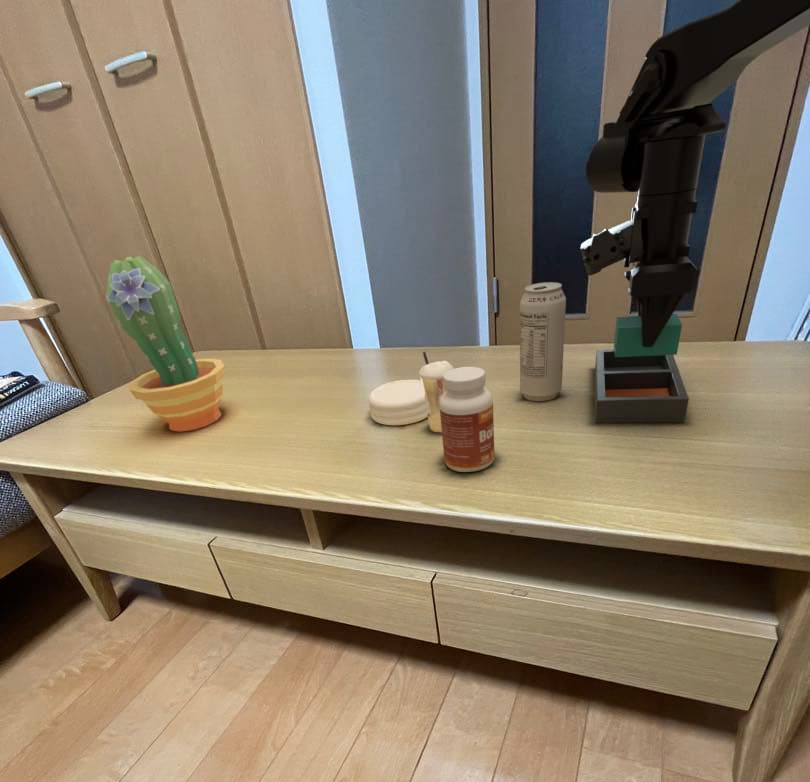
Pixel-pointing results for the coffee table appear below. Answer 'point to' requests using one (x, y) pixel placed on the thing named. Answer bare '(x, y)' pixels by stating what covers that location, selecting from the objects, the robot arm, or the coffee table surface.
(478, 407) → the pill bottle
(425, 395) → the milkshake
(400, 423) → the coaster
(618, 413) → the pad holder
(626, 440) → the coffee table surface
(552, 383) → the energy drink can
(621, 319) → the green rectangular block
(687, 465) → the coffee table surface
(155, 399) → the potted cactus
